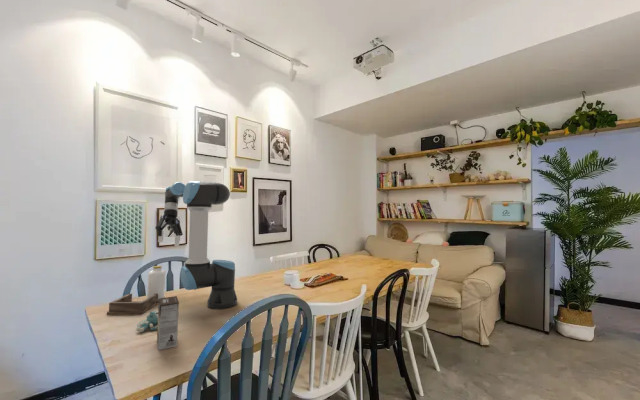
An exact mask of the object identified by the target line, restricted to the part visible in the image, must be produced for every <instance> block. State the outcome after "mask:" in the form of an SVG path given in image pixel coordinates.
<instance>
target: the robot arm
mask: <svg viewBox="0 0 640 400" xmlns="http://www.w3.org/2000/svg"><path fill="white" fill-rule="evenodd" d="M230 195H231V192H230V189H229V187H227V186H226V185H225V184H223V183H220V182H211V181H210V182H208V181H201V180H200V181H199V180H191V181H188V182H187V183H186V184H184V183H183V182H181V181H177V182H174V183H173V184H172V185H171V186H167V187H166V188H165V192H164V209H163V210H164V211H163V214H162V215H160V218H159V220H158V222H157V224H156V226H155V230H156V232H158V234H157V236H158V239H157V243H163V242H164V234H165V233H164V229H165V228H166V227H167V226H170V227H171V228H172V229H173V230H172V231H173V233H174V235H175V236H174V247H179V246H180V241H181V236H183V231H182V227H181V221H180V220H179V219H178V220H177V217H178V212H179V211H178V210H179V198H182V202H183V203H184V204H185V205H186V207H187V210H189V230H188V231H189V232H188V233H189V235H188V258H187V260H186V261H185V262H184V265H183V266H181V268H180V271H179V277H180V281H181V284H182V287H183V288H184V289H185V290H186V291H191V290H195V291H196V290H200V289H204V288H211V290H210V293H209V296H208V298H207V301H206V302H207V305H206V306H207V307H208V308H210V309H217V310H219V309H220V310H222V309H228V307H229V308H231V307H234V305H235V306H236V305H237V304H238V297H237V293H236V290H235V281H236V279H235V277H236V264H235V261H232V260H228V259H227V260H226V259H213V260H212V261H211V260H210V259H208V239H209V238H208V235H209V234H208V232H209V231H208V229H209V228H208V227H209V211H210V210H211V209H213V208H212V206H214V205H216V206H217V205H222V204H224V203H226V202H227V201H229V200H230V198H231V197H230Z"/></svg>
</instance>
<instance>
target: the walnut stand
mask: <svg viewBox="0 0 640 400" xmlns="http://www.w3.org/2000/svg"><path fill="white" fill-rule="evenodd" d="M156 305H159V300H158V294H154V295H152V296H150V297H149V298H145V299H143V300H141V301H140V300H137V301H134V300H133V293H128V294H125V295H123V296H121V297H119V298H117V299H115V300H112V301H110V302H108V311H106V315H143V314H144V313H147V311H149V310H151V309H153V308H154V307H155V306H156Z"/></svg>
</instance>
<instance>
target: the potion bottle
mask: <svg viewBox="0 0 640 400" xmlns="http://www.w3.org/2000/svg"><path fill="white" fill-rule="evenodd" d="M165 285H166V271H165V270H164V269H162V265H153V267H152V270H151V271H149V272H148V275H147V295H146V297H147V298H149V297H150V296H152V295H154V294H158V301H159V299H160V298H165V289H166V286H165ZM147 298H146V299H147Z"/></svg>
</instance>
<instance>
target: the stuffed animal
mask: <svg viewBox="0 0 640 400" xmlns="http://www.w3.org/2000/svg"><path fill="white" fill-rule="evenodd" d="M136 327H137V328H136V330H135V331H137V332H141V333H143V332H144V331H145V330H147V329H150V331H157V329H158V310H155V311H150V312H149V314H147V316H146V319H144V320H142V321H140V322H138V323H137V325H136Z"/></svg>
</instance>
